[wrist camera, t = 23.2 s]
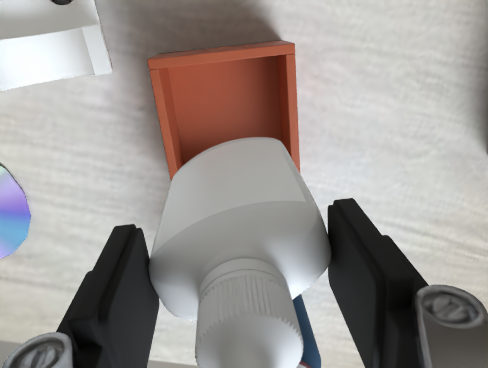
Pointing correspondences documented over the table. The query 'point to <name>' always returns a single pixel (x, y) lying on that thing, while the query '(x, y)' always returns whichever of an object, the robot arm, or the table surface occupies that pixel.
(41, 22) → the bracket
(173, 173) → the terracotta bin
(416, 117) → the table surface
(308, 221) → the eye dropper bottle
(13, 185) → the cd
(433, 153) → the table surface
